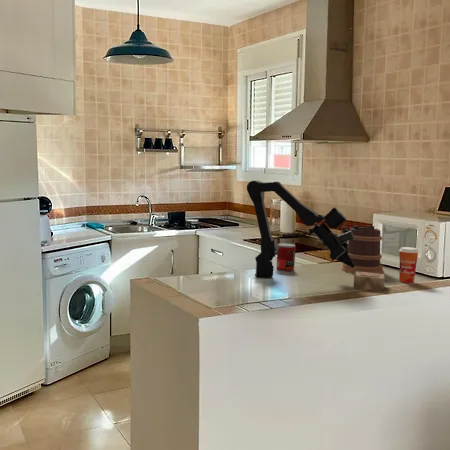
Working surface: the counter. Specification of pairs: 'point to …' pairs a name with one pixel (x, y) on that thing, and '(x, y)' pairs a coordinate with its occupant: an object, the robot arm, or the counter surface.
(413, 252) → the paper cup
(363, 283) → the wooden box
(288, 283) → the counter surface
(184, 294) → the counter surface
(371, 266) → the mug
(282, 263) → the canned food
